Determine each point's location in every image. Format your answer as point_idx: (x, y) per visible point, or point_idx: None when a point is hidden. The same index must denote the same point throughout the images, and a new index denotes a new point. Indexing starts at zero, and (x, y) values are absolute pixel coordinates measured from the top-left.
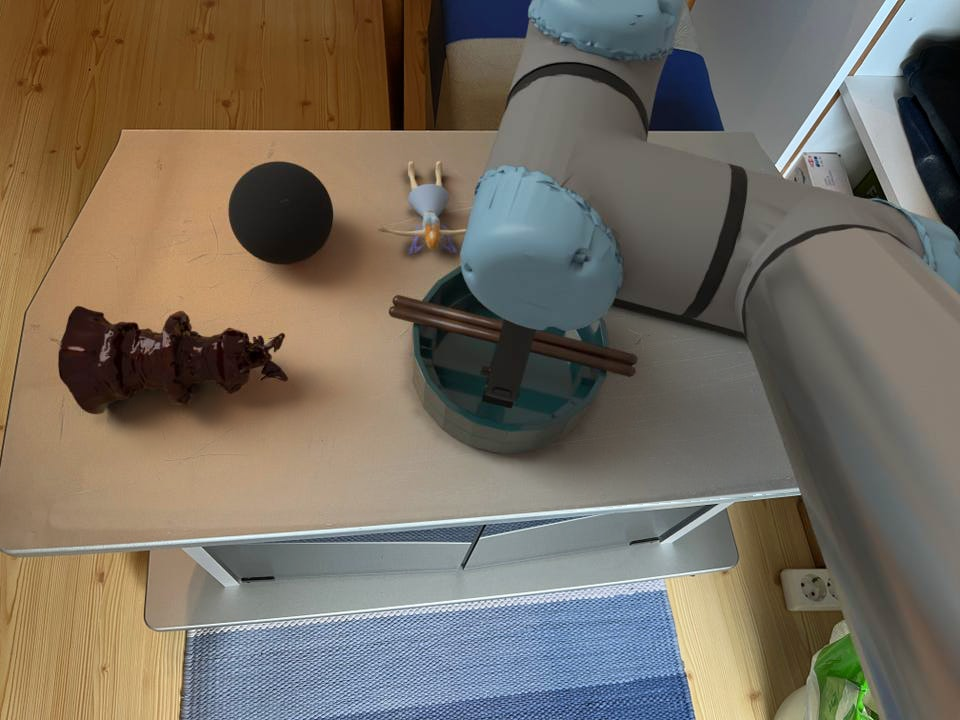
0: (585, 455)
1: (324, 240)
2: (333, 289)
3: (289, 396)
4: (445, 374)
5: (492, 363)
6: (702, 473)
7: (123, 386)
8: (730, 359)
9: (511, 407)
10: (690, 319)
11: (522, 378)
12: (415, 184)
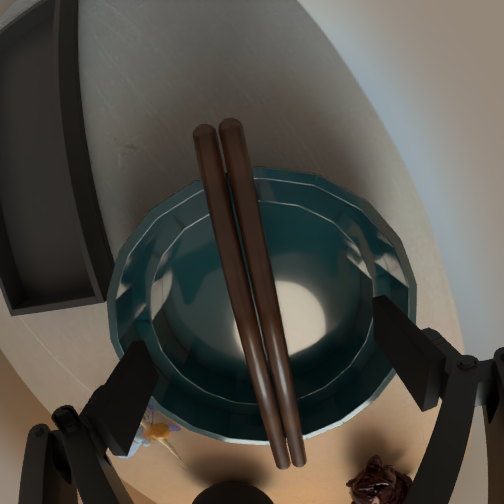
0: (334, 150)
1: (235, 497)
2: (257, 458)
3: (371, 436)
4: (307, 356)
5: (428, 407)
6: (281, 13)
7: None
8: (108, 40)
9: (385, 296)
10: (74, 102)
11: (471, 363)
12: None
